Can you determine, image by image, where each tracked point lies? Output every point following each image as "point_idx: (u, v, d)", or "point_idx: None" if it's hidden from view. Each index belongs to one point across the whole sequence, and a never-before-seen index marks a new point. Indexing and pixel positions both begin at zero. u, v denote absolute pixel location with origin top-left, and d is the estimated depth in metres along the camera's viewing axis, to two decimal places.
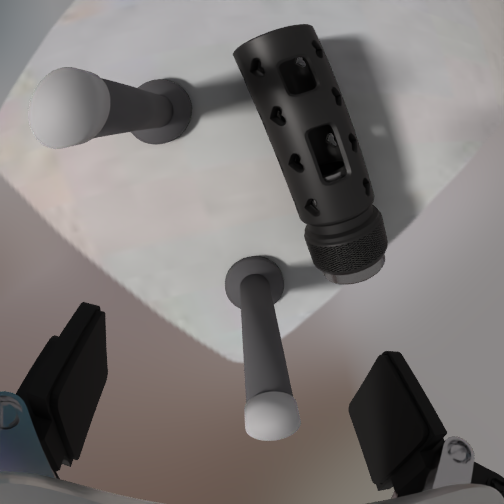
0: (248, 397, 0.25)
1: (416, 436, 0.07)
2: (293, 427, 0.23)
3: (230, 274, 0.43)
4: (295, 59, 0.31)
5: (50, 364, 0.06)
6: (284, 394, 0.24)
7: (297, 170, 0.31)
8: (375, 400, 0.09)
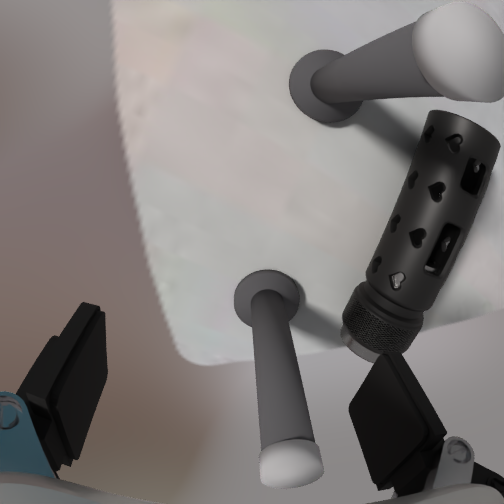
0: (278, 435, 0.20)
1: (416, 436, 0.07)
2: (304, 482, 0.19)
3: (257, 277, 0.38)
4: None
5: (50, 364, 0.06)
6: (318, 448, 0.19)
7: (412, 243, 0.29)
8: (375, 400, 0.09)
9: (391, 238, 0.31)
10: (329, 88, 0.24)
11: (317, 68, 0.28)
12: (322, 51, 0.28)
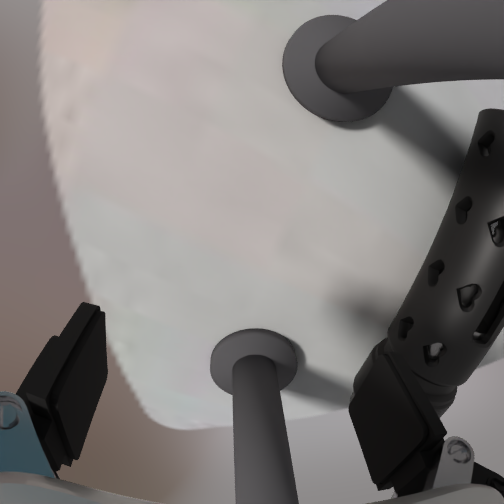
0: None
1: (416, 436, 0.07)
2: None
3: (239, 341, 0.27)
4: None
5: (50, 364, 0.06)
6: None
7: (460, 304, 0.18)
8: (375, 400, 0.09)
9: (429, 294, 0.20)
10: (351, 64, 0.13)
11: (325, 41, 0.18)
12: (331, 17, 0.17)
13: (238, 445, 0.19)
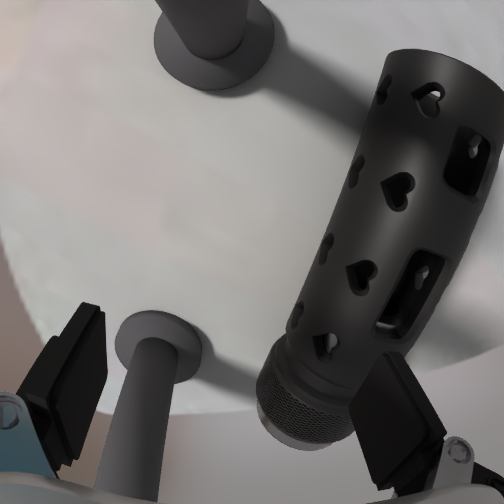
0: None
1: (416, 436, 0.07)
2: None
3: (136, 322, 0.25)
4: None
5: (50, 364, 0.06)
6: None
7: (351, 285, 0.17)
8: (375, 400, 0.09)
9: (318, 274, 0.19)
10: (170, 23, 0.12)
11: None
12: None
13: (111, 423, 0.18)
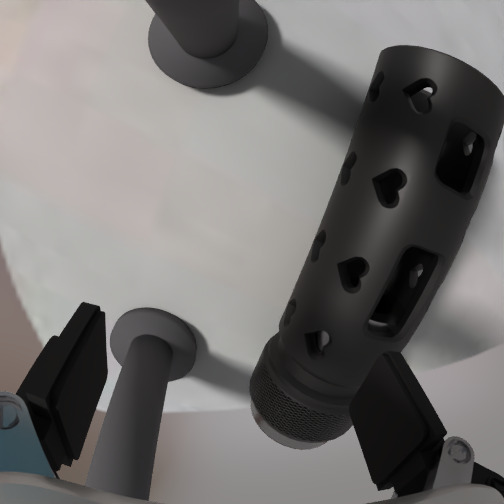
0: None
1: (416, 436, 0.07)
2: None
3: (130, 319, 0.26)
4: None
5: (50, 364, 0.06)
6: None
7: (343, 283, 0.17)
8: (375, 400, 0.09)
9: (311, 271, 0.19)
10: (162, 22, 0.12)
11: None
12: None
13: (104, 419, 0.18)
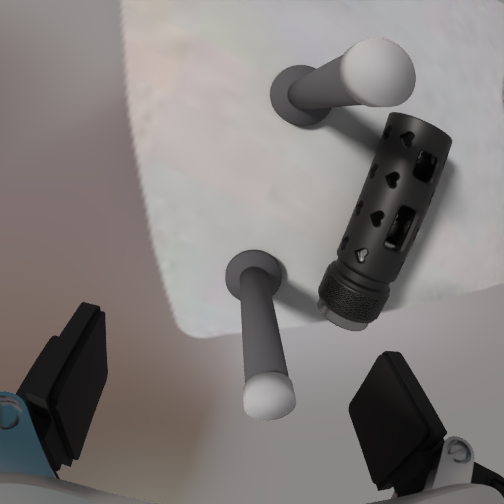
0: (257, 370, 0.27)
1: (416, 436, 0.07)
2: (281, 414, 0.26)
3: (245, 256, 0.45)
4: None
5: (50, 364, 0.06)
6: (291, 382, 0.26)
7: (373, 223, 0.36)
8: (375, 400, 0.09)
9: (356, 220, 0.38)
10: (299, 99, 0.31)
11: (293, 81, 0.36)
12: (297, 66, 0.35)
13: (244, 307, 0.37)
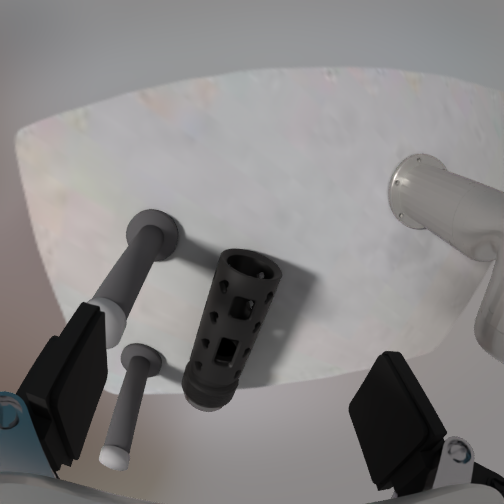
0: (107, 442, 0.37)
1: (416, 436, 0.07)
2: (122, 468, 0.36)
3: (130, 348, 0.55)
4: None
5: (50, 364, 0.06)
6: (126, 453, 0.37)
7: (203, 345, 0.47)
8: (375, 400, 0.09)
9: (196, 338, 0.49)
10: None
11: (141, 226, 0.46)
12: (144, 213, 0.45)
13: (120, 392, 0.48)
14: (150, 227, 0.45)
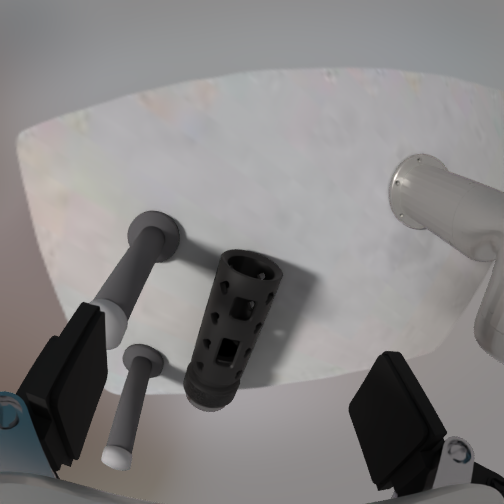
0: (110, 442, 0.37)
1: (416, 436, 0.07)
2: (124, 468, 0.36)
3: (132, 349, 0.55)
4: (259, 273, 0.49)
5: (50, 364, 0.06)
6: (128, 453, 0.37)
7: (205, 346, 0.47)
8: (375, 400, 0.09)
9: (197, 339, 0.49)
10: None
11: (143, 228, 0.46)
12: (145, 214, 0.46)
13: (122, 392, 0.48)
14: (151, 228, 0.45)
